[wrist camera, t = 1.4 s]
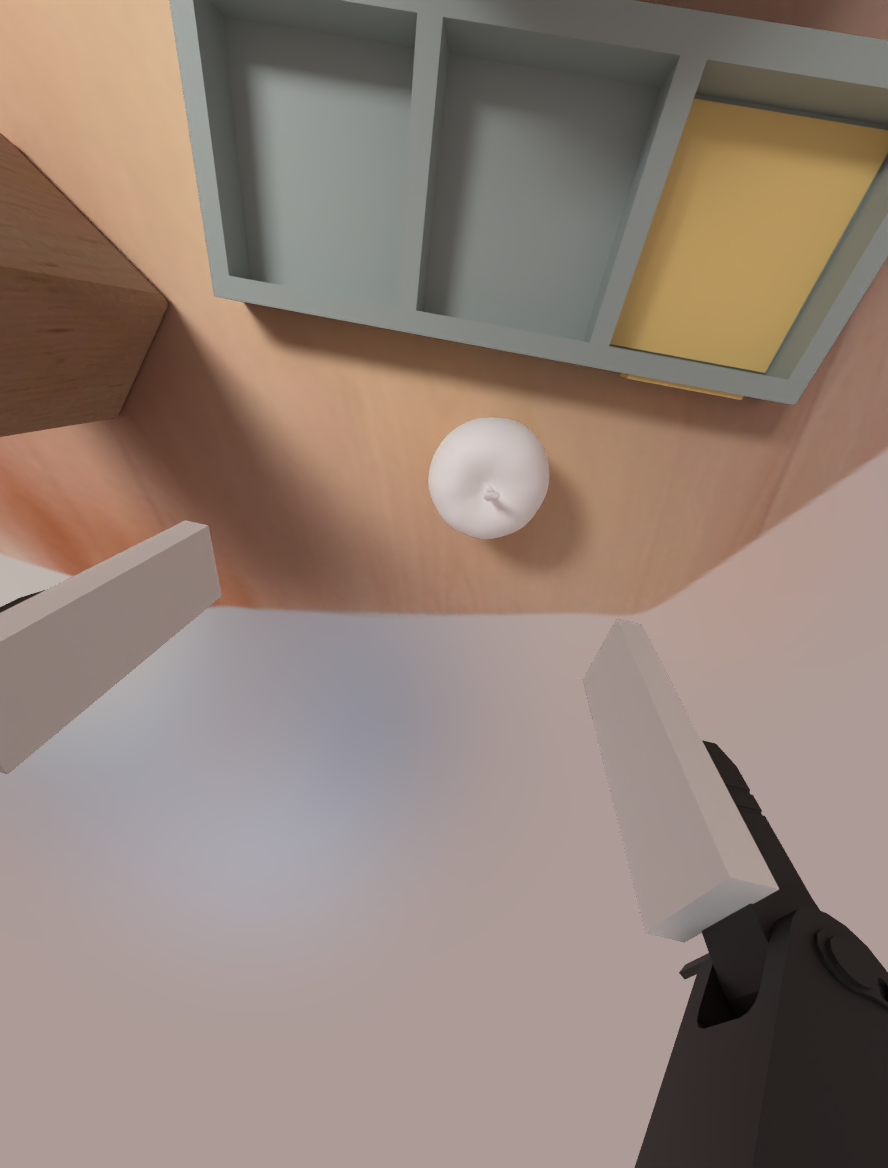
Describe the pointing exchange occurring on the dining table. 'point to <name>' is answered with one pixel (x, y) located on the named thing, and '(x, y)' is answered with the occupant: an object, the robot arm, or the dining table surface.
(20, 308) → the wooden block
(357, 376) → the dining table surface
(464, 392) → the dining table surface
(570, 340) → the grey-green compartment tray
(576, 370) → the dining table surface
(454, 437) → the plain white apple
